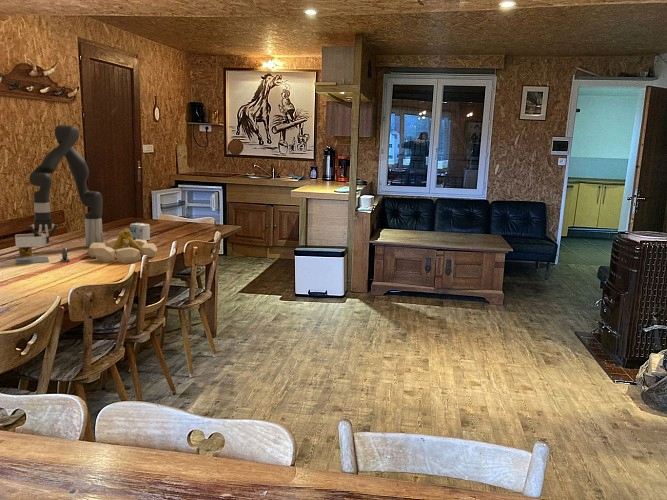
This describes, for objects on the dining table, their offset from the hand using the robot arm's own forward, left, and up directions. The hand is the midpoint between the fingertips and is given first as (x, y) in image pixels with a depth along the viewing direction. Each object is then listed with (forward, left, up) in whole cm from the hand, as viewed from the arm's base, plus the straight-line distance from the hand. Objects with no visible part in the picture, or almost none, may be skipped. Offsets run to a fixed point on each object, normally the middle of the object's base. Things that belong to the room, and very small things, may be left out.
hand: (44, 243), depth 288 cm
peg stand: (-9, +7, -9) cm, 14 cm away
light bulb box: (-57, -41, -9) cm, 71 cm away
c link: (+6, 0, 0) cm, 6 cm away
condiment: (+9, -14, -9) cm, 19 cm away
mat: (+6, 0, -9) cm, 11 cm away
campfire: (-39, +4, -9) cm, 40 cm away
